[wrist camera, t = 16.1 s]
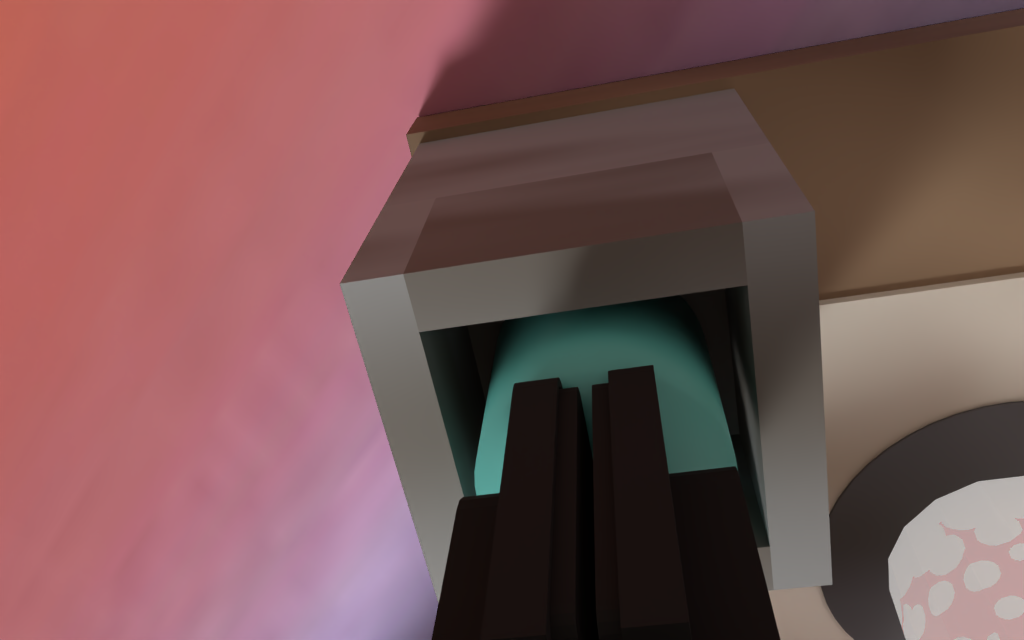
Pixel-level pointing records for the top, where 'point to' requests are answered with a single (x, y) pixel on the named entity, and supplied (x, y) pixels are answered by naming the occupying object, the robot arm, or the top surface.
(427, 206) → the grey and brown stand
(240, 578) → the top surface
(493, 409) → the button
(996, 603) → the beverage cup
